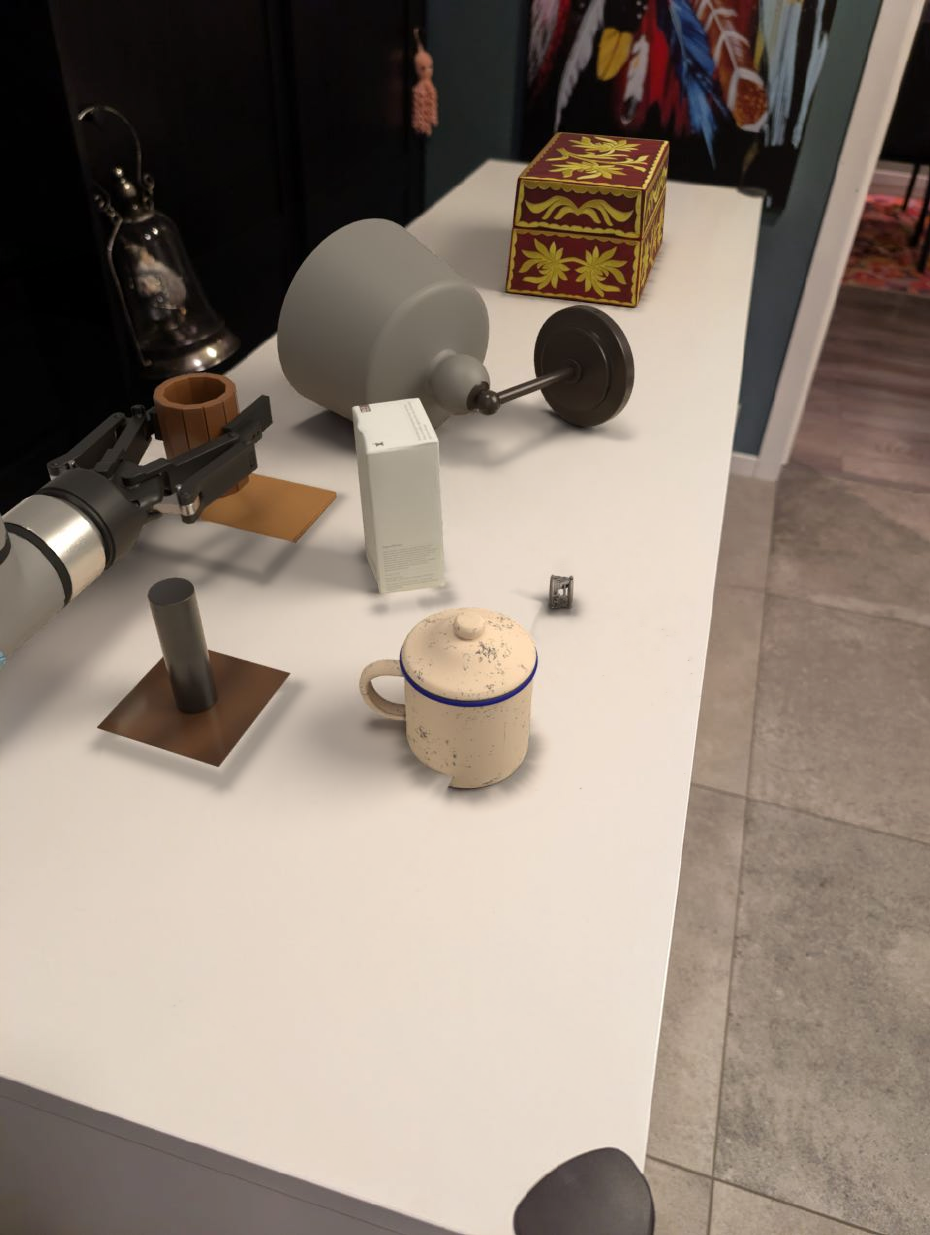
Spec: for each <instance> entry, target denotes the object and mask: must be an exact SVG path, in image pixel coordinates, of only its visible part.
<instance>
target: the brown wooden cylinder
mask: <svg viewBox="0 0 930 1235" xmlns="http://www.w3.org/2000/svg"><path fill="white" fill-rule="evenodd" d="M153 392H154V393H153V397H152V398H153V402H154V403H153V404H154V406H155V408H156V412H157V417H158V421H159V426H160V430H161V435H162V439H163V441H162V443H163V448H164V451H165V457H166V459H167V460H170V459H172V458H174V457H176V456H178V455H181V454H183V453H185V452H187V451H189V450H192V449H194V448H196V447H198V446H200V445H202V444H205V443H207V442H209V441H211V440H213V439H215V438H218V437H220V436H222V435H224V430H223V427H224V426H225V425H226V424H228V423H229V422H230V421H232V420H233V419H234V418H235V417H236V416H237V415H238V414H240V413H241V411H240V406H239V399H238V393H237V386H236V383H235V382H234V381H233V380H232V379H230V378H229V377H227V376H226V375H223V374H218V373H212V372H207V371H203V372H190V373H189V372H188V373H187V374H186V373H183V374H180V375H176V376H174V377H171V378H168V379H166V380H164V381H162V383H160V384H159V385H157V386H156V387H155V388H154V391H153ZM248 482H249V475H248V476H247V477H245V478H244V479H243V480H241V481H240V482H239V483H237V484H236V485H235V486H234V487H232V488H231V489H230V490H228V491H227V492H226V493H224V494H223V495H222V496H220V497H219V498H224V497H227V496H229V495H232V494H235V493H237V491H240V490H241V489H242V488H243V487H244V486H245V485H246V484H247V483H248ZM219 498H218V499H219Z"/></svg>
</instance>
